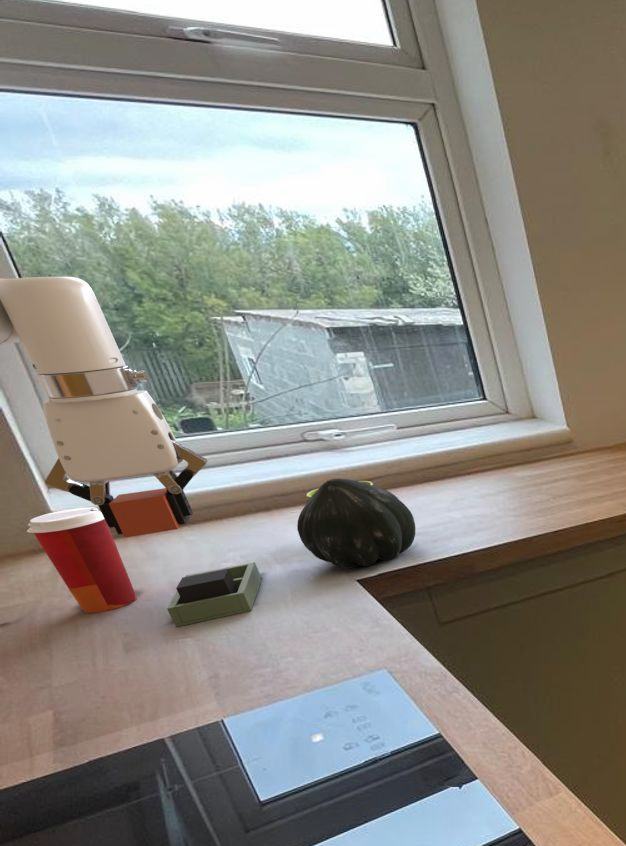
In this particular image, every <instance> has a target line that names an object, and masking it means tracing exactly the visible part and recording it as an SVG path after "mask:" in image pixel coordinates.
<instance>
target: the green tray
mask: <svg viewBox="0 0 626 846" xmlns="http://www.w3.org/2000/svg"><path fill="white" fill-rule="evenodd" d="M223 569H229V571H230V573H231V575H232V577H233V580H234V582H235V584H236V586H237V589H238V591H237V593H233V594H228V595H223V596H218V597H213V598H209V599H204V600H199V601H194V602H189V603H185V604H183V602H182V600H181V598H180V595H179V593H178V591H177V590H176V591H175V594H174V596H173V597H172V599H171V600H170V603H169V604H168V605H167V608H166V610H167V612H168V614H169V616H170V618H171V620H172V623H173V624H174V626H175V628H178V627H182V626H186V625H192V624H195V623H201V622H205V621H206V622H207V621H209V620H210V621H211V620H215V619H219V618H223V617H228V616H233V615H237V614H242V613H246V612H252V610H253V606H254V605H255V601H256V597H257V595H258V592H259V588H260V585H261V583H262V579H263V577H262V575H261V573H260V571H259V569H258V566H257V564H256V562H255V561H253V562H249V563H242V564H238V565H232V566H228V567H223V568H217V569H213V570H208V571H202V572H196V573H191V574H186V575H185V576H184V577H187V576H193V575H198V574H203V573H208V572H213V571H218V570H223Z"/></svg>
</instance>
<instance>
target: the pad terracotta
mask: <svg viewBox="0 0 626 846" xmlns="http://www.w3.org/2000/svg"><path fill="white" fill-rule="evenodd" d="M166 490H167V489H166V488H165V487H164V488H163V487H162V488H157V489H149V490H141V491H135V492H128V493H122V494H121V493H120V494H118V495H117V496H115V498H114V500H113V501H111V502H110V503H109V506H110V508H111V510H112V512H113V514H114V516H115V518H116V520H117V522H118V525H119V527H120V529H121V531H122V533H123V534H122V535H123V537H124V538H132V537H137V536H143V535H150V534H155V533H162V532H168V531H174V530H179V528H180V527H181V525H180V524H178V523H177V520H176V518H175V516H174V514H173V511H172V509H171V507H170V505H169V503H168V500H167V498H166V496H167V495H168V493H167V491H166Z"/></svg>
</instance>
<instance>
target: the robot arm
mask: <svg viewBox="0 0 626 846" xmlns="http://www.w3.org/2000/svg"><path fill="white" fill-rule="evenodd" d="M18 343H21V344H22V346H23V348H24V350H25V353H26V355H27V357H28V359H29V361H30V363H31V365H32V367H33V369H34V371H35V373H36V376H37V378H38V381H39V382H40V384H41V386H42V389H43V390H44V392H45V395H46V397H47V399H46V400H44V401H42V409H43V414H44V419H45V421H46V422H45V423H46V425H47V429H48V432H49V434H50V439H51V442H52V444H53V446H54V449H55V452H56V455H57V457H58V458H57V459H56V461H55V463H54V465H53V467H52V469H51V470H50V471H49V474H48V475H47V477H46V478H45V480H44V484H45V485H46V486H47V487H50V488H53V489H55V490H56V489H57V490H59V491H63V492H66V493H69V494H71V495H73V496H76V497H79V498H81V499H82V500H85V501H88V502H90V503H91V504H93V505H94V506H98V509H99V511H101V513H102V515H103V517H104V519H105V521H106V523H107V525H108V527H109V529H112V528H114V530H115V531H116V534H117V535H123V533H122V531H121V529H120V527H119V525H118V522H117V520H116V518H115V516H114V514H113V512H112V510H111V508H110V506H109V503H110V502H111V501H113V500H114V499H115V498H114V497H113V494H111V481H110V480H118V479H126V478H134V477H140V476H148V475H153V476H154V477H155V478H156V479H157V480H158V481H159V483H161V484H162V486H163V487H164V488H166V489H167V490H166V491H167V493H168V495H167V496H166V498H167V500H168V503H169V505H170V507H171V509H172V511H173V514H174V516H175V518H176V520H177V523H178V524H180V526H183V525H187V523H188V521H190V516H192V515H193V509H192V507H191V505H190V502H189V500H188V498H187V496H186V493H185V491H184V489H185V488H186V486H187V485H188V484H189V483H190V481H192V479H193V478H194V477H195V476H196V475H197V474H198V473H199V472H200V471H201V470H202V469H203V468H204V467H205V466H206V465H207V464H208V459H207V458H206V457H204V456H202V455H200V454H198V453H197V452H196V451H193V450H192V449H190V448H188V447H186V446H184V445H183V444H180V443H179V442H178V440H177V438H176V436H175V435H174V433H173V430H172V429H171V427H170V424H169V423H168V421H167V420H166V418H165V416H164V415H163V413H162V411H161V409H160V408H159V406H158V405H157V403H156V401H155V400H154V399H153V398H152V396H151V395H150V394H149V392H148V391H147V390H137V387H138V385H139V384H141V383H145V382H149V376H148V374H147V372H146V371H145V370H136V369H135V370H132V368H130V367H129V365H126V362H125V360H124V358H123V356H122V353H121V350H120V348H119V347H118V344H117V342H116V340H115V337H114V335H113V333H112V330H111V329H110V326H109V324H108V321H107V319H106V317H105V314H104V311H103V310H102V308H101V305H100V303H99V301H98V298H97V296H96V294H95V292H94V291H93V289H92V287H91V286H90V285H89V284H88V282H86V281H85V280H83V279H81V278H79V277H75V276H33V277H31V276H30V277H17V278H16V277H15V278H4V277H3V278H2V277H0V346H5V345H11V344H18ZM183 461H184V462H187V465H186V466H185V468H184V469H182V470H181V471H180V473H179V474H178V475H177V473H176V472H175V470H174V469H176V468H177V467H178V465H179V464H181V463H182V462H183ZM86 483H89V485H88V484H86Z"/></svg>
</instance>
